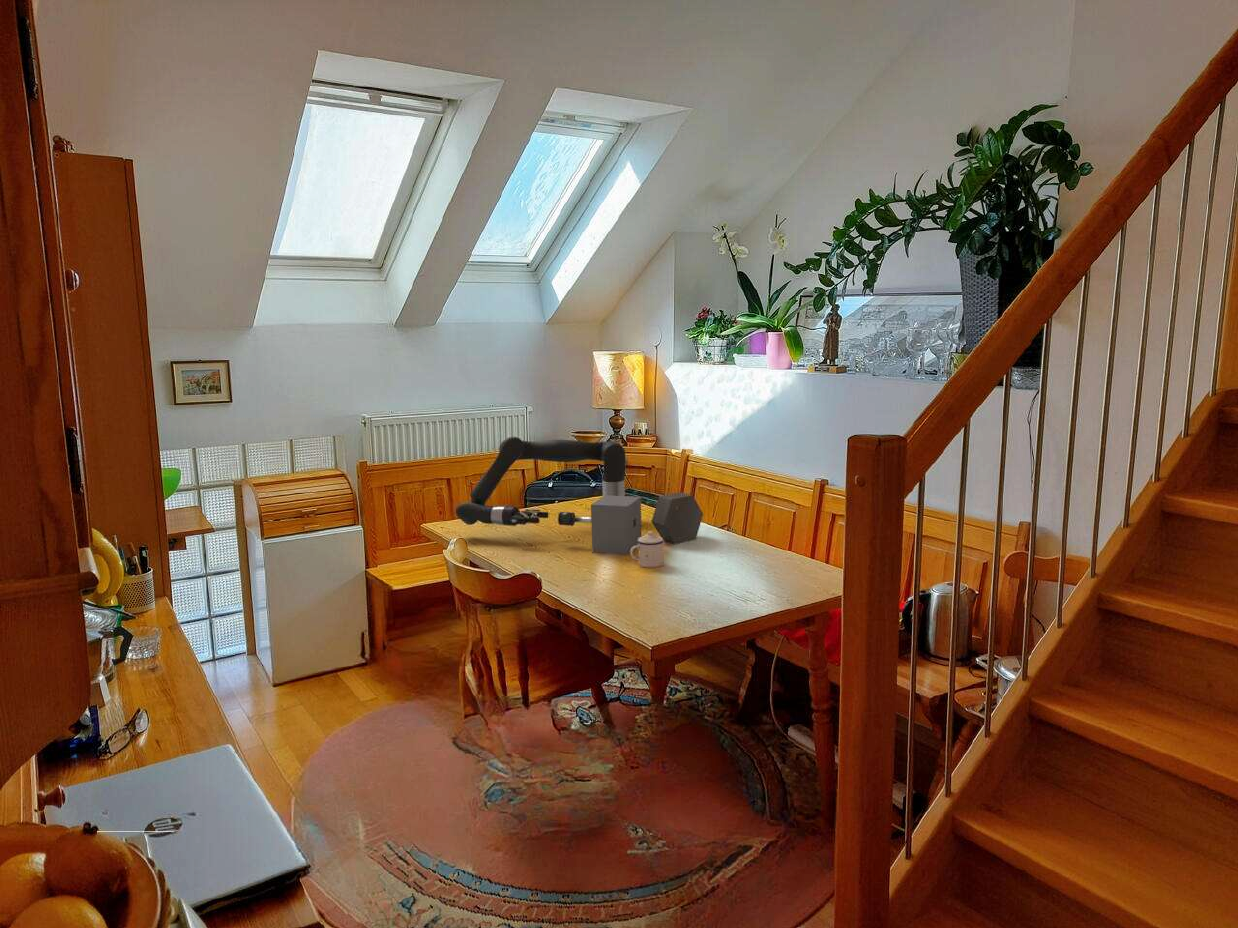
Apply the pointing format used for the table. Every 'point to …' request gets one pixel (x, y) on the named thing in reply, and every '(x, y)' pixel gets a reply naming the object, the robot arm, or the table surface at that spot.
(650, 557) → the teacup with lid
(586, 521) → the plunger
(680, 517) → the dark grey hexagonal block
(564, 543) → the table surface
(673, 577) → the table surface
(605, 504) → the block
